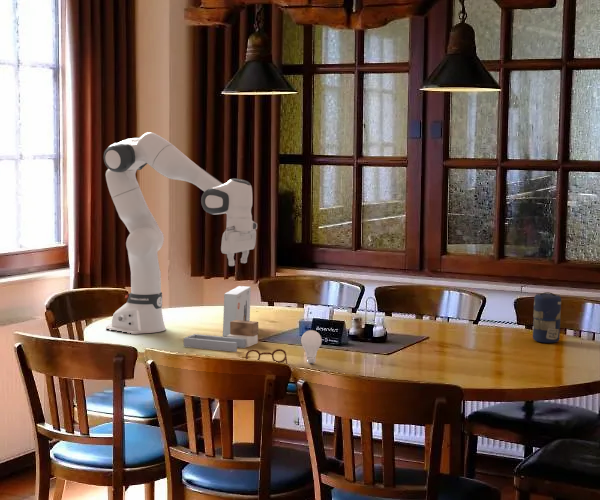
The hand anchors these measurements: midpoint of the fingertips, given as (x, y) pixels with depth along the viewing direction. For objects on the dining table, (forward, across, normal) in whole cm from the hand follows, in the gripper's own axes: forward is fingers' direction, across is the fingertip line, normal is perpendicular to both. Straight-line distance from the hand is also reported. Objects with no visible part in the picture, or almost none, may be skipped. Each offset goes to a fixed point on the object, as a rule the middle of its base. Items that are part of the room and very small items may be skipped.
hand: (237, 264), depth 363 cm
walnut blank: (+24, -3, -5) cm, 25 cm away
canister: (+24, +47, -101) cm, 114 cm away
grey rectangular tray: (+28, -12, +2) cm, 30 cm away
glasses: (+28, -32, -27) cm, 50 cm away
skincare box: (+28, +17, +8) cm, 34 cm away
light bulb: (+27, -22, -38) cm, 52 cm away
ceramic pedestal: (+28, -3, -4) cm, 28 cm away
